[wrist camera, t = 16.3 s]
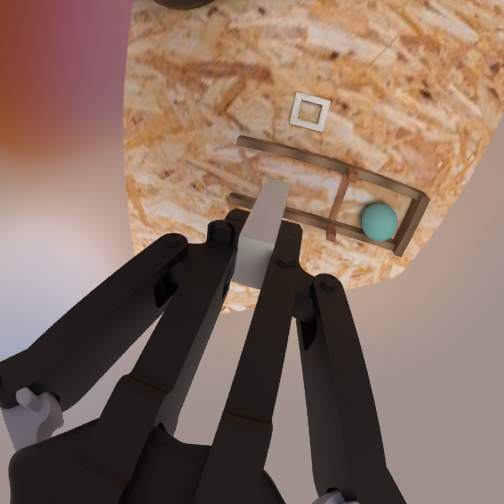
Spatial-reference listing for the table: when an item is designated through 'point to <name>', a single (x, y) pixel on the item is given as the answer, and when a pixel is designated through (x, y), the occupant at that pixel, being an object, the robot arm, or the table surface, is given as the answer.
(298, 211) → the lane
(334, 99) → the table surface
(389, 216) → the ball
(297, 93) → the white square frame
